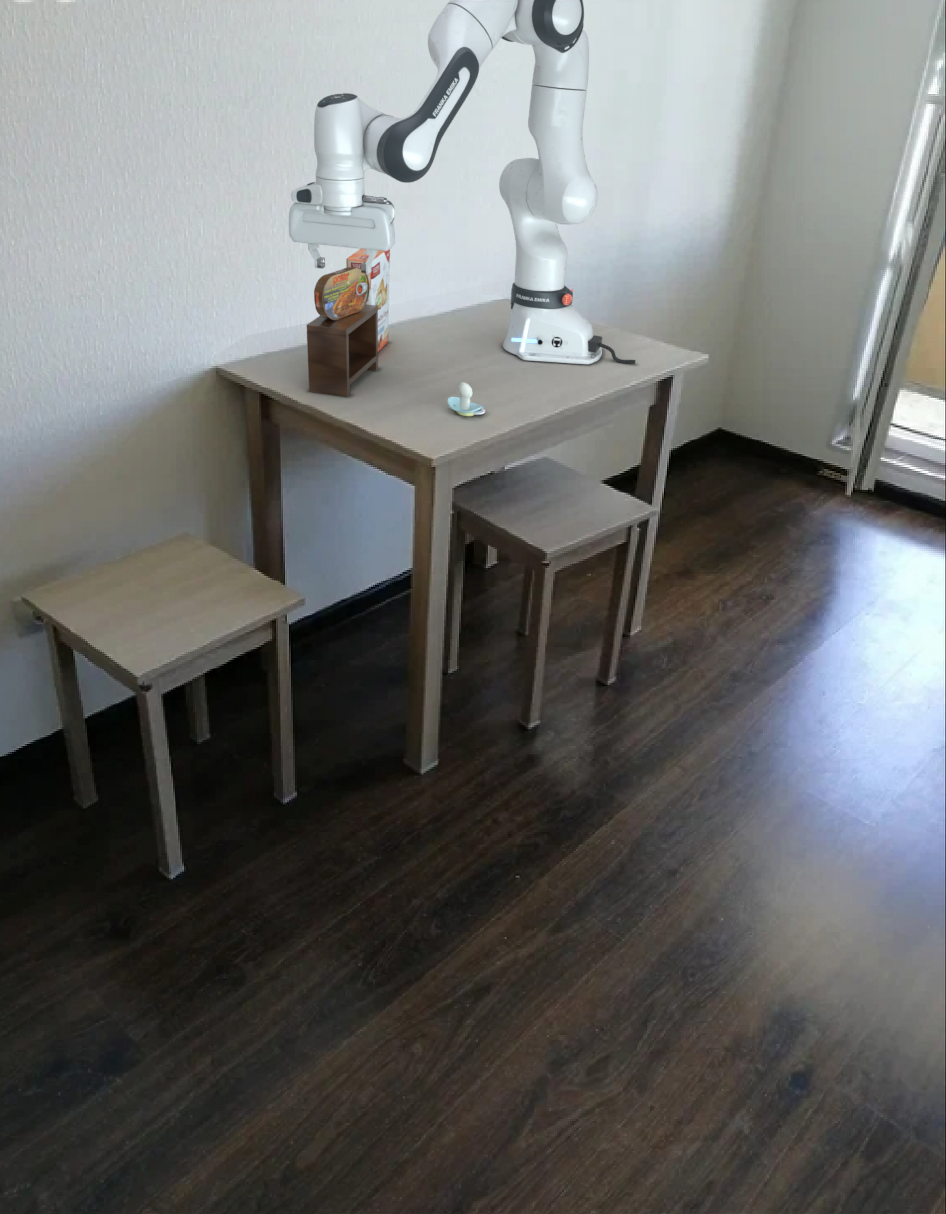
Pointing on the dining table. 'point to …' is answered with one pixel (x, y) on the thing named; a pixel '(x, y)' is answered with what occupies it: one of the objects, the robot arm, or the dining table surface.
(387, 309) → the cracker box
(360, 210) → the robot arm
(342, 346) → the brown hollow box
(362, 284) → the tin
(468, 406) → the pacifier
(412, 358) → the dining table surface
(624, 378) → the dining table surface
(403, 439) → the dining table surface
